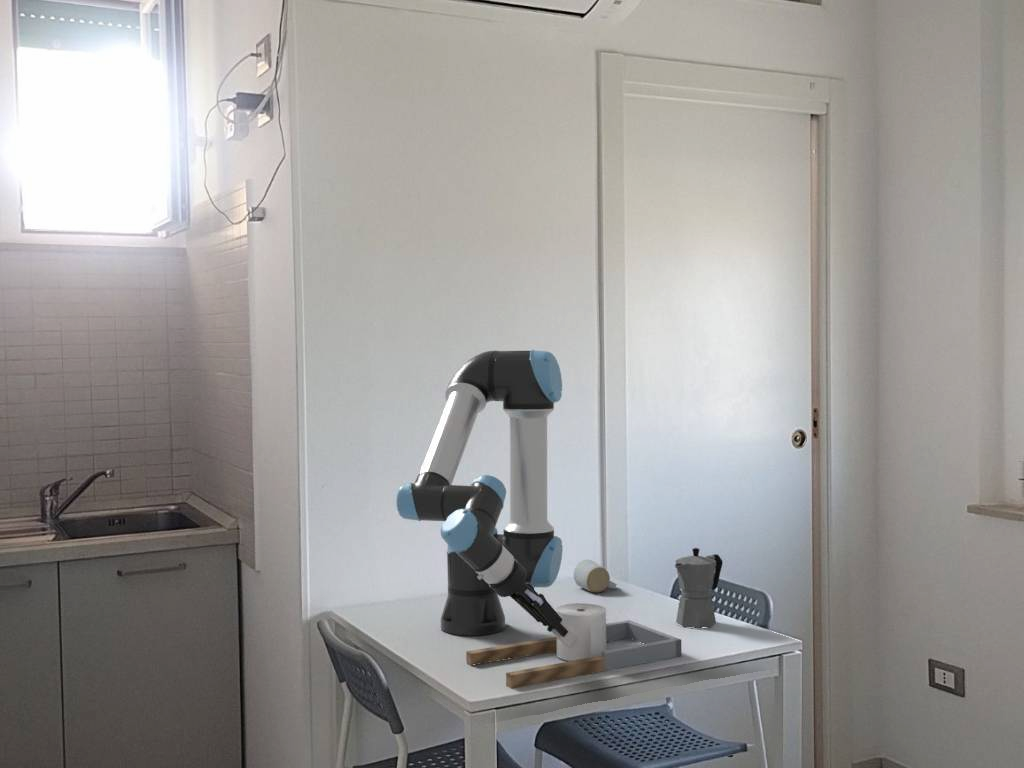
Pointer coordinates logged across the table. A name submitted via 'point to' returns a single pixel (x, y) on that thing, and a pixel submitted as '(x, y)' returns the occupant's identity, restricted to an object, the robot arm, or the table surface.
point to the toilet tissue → (583, 630)
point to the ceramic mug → (592, 576)
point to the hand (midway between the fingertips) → (571, 642)
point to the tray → (651, 650)
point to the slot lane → (535, 673)
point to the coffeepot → (697, 589)
